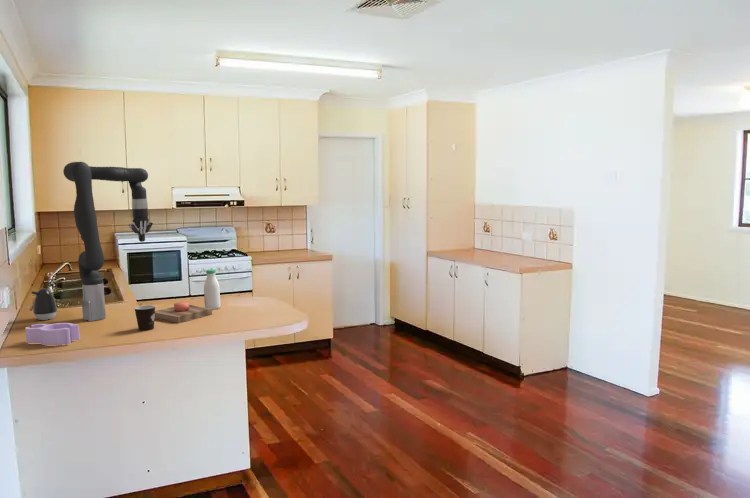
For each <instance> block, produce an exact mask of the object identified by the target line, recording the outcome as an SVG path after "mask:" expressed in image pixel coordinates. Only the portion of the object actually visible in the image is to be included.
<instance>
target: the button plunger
mask: <svg viewBox="0 0 750 498" xmlns="http://www.w3.org/2000/svg"><path fill="white" fill-rule="evenodd" d="M189 305H190V303H189V302H188V301H187V302H186V301H181V302H176V303H173V307H174V311H187V310H189Z"/></svg>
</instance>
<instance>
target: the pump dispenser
mask: <svg viewBox="0 0 750 498" xmlns="http://www.w3.org/2000/svg"><path fill="white" fill-rule="evenodd" d="M31 294H32V295H35V298H34V301H33V306H32V307H33V308H32V314H34V317H35V319H37V320H39V321H49V320H48V319H50V320H52V319H54V317H55V316H56V315H57V311H58V307H57V303H56V300H55V298H54V296H53V294H52V292H51V291H50V290H49V289H47V288H44V287H43V288H40V289H39V290H38V291H31Z"/></svg>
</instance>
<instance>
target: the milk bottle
mask: <svg viewBox="0 0 750 498" xmlns="http://www.w3.org/2000/svg"><path fill="white" fill-rule="evenodd" d="M205 272H206V279H205V282H204V283H203V294H204V296H203V297H204V299H203V300H204V307H205V308H211V309H212V310H218V309H220V308H221V295H220V293H221V291H220V284H219V283H220V282H219V281H218V279H217V277H216V273H217V271H216V269H215V268H214V269H206V271H205Z"/></svg>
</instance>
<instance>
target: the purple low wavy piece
mask: <svg viewBox="0 0 750 498" xmlns="http://www.w3.org/2000/svg"><path fill="white" fill-rule="evenodd" d="M79 325H80V324H75V323H73V322H72V323H71V322H57V323H36V324H31V326H27V327H25V339H26V341H25V342H26V344H27V343H41V344H43V345H62V344H72V343H71V342H72V341H71V340H79V339H80V337H81V336H80V326H79ZM70 339H71V340H70ZM79 341H80V340H79ZM62 346H63V345H62Z"/></svg>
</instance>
